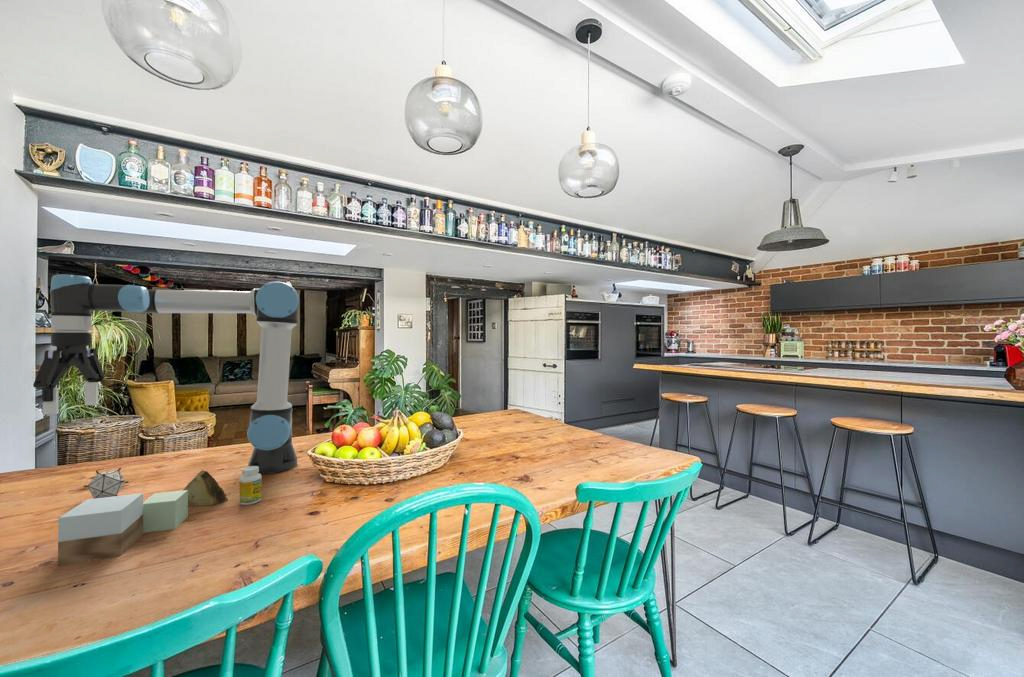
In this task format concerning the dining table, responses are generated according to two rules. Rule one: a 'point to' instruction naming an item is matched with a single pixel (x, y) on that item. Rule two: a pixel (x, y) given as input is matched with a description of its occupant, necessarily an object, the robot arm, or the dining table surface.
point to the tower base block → (99, 545)
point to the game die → (106, 484)
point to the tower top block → (100, 517)
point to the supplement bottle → (250, 486)
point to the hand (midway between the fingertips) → (72, 409)
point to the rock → (204, 490)
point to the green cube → (165, 511)
